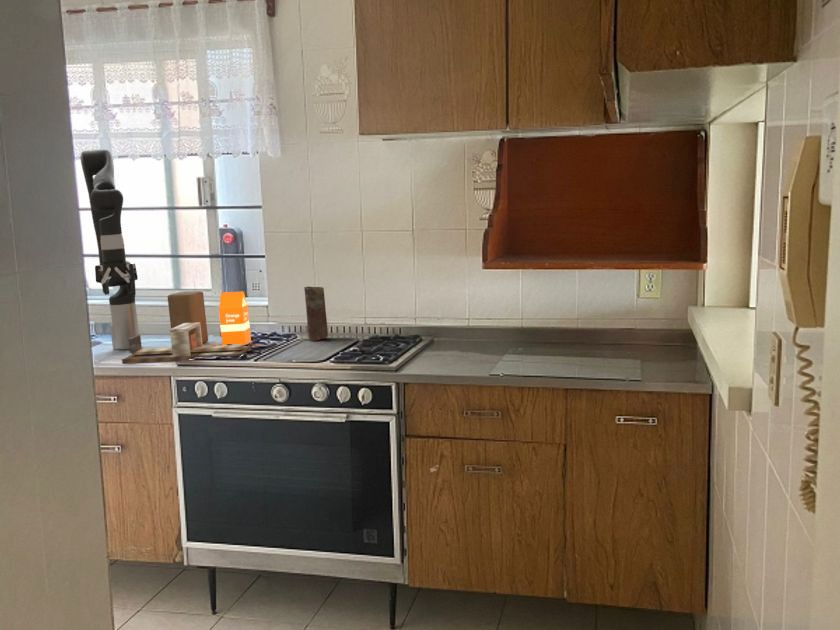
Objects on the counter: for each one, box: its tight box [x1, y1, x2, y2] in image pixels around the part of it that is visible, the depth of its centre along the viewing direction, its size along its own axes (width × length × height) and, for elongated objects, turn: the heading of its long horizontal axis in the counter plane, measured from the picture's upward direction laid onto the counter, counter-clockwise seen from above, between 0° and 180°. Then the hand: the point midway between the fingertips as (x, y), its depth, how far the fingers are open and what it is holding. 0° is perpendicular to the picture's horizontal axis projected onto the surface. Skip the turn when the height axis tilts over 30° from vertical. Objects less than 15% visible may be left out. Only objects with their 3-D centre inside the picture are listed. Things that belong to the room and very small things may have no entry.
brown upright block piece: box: [303, 286, 329, 342], centre depth 297 cm, size 8×7×20 cm
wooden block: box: [167, 290, 209, 345], centre depth 303 cm, size 10×10×20 cm
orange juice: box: [218, 291, 252, 345], centre depth 295 cm, size 8×9×20 cm
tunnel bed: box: [121, 322, 253, 365], centre depth 280 cm, size 42×14×11 cm, turn 85°
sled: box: [128, 333, 244, 355], centre depth 280 cm, size 39×7×6 cm, turn 85°
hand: (118, 293), depth 280 cm, fingers open, 8 cm apart
